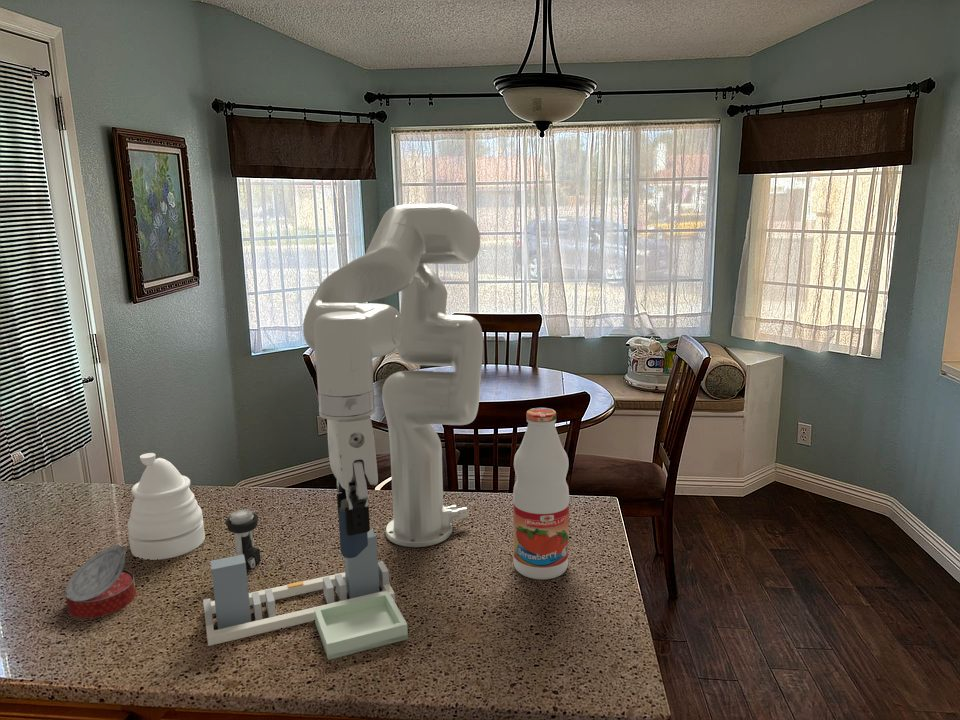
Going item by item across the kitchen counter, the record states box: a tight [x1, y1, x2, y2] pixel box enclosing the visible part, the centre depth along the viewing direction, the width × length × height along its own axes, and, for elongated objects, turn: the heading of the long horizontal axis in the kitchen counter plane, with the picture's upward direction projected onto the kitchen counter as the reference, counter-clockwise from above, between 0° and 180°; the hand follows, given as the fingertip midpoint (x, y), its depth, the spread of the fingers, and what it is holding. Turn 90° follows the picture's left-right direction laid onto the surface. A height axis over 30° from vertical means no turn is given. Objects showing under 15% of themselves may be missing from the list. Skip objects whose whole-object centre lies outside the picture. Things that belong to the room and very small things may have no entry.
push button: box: [225, 508, 261, 571], centre depth 125 cm, size 7×5×10 cm
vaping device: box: [337, 482, 368, 558], centre depth 103 cm, size 3×5×12 cm, turn 161°
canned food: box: [64, 544, 137, 619], centre depth 116 cm, size 11×10×10 cm
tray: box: [314, 591, 409, 661], centre depth 107 cm, size 12×10×2 cm
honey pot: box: [127, 452, 206, 561], centre depth 133 cm, size 13×13×18 cm
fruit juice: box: [512, 407, 570, 580], centre depth 122 cm, size 9×9×28 cm
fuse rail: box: [202, 528, 396, 647], centre depth 113 cm, size 28×10×10 cm, turn 113°
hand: (353, 524), depth 103 cm, fingers closed on vaping device, 4 cm apart
